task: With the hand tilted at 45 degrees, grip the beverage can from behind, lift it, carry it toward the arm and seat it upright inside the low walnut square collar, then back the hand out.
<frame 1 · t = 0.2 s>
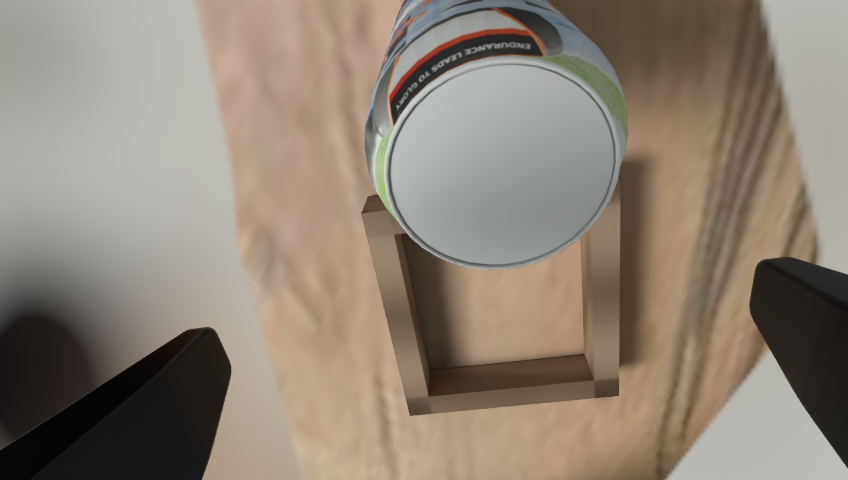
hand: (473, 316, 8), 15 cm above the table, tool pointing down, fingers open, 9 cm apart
walnut collar: (497, 289, 25), on the table
beverage can: (470, 64, 20), on the table
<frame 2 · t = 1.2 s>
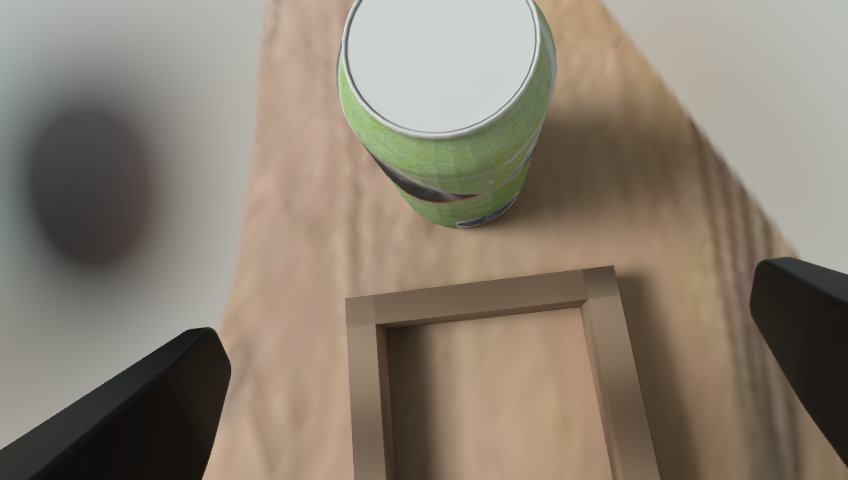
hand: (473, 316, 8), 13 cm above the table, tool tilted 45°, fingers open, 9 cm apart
walnut collar: (496, 434, 20), on the table
beverage can: (463, 188, 23), on the table
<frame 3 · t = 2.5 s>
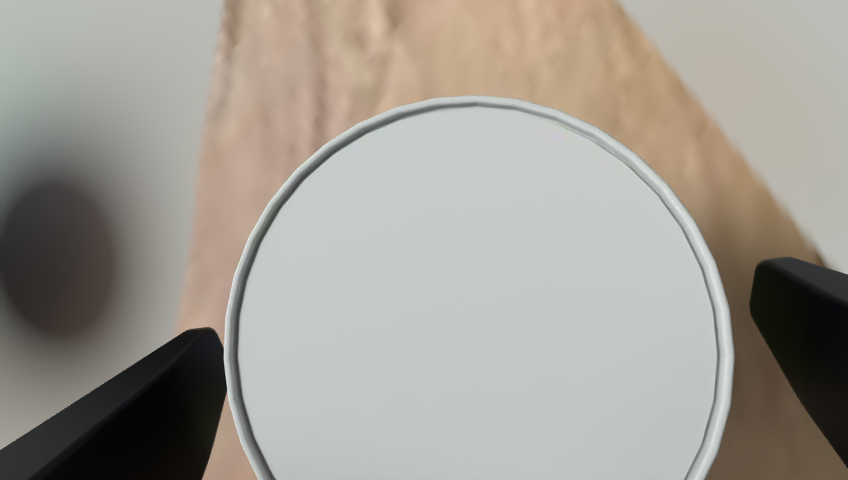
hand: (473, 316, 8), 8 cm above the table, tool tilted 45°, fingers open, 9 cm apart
beverage can: (482, 346, 16), on the table
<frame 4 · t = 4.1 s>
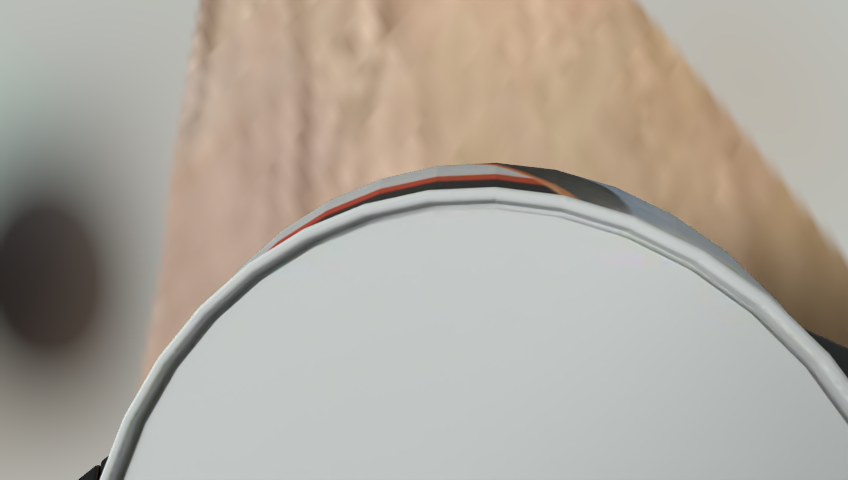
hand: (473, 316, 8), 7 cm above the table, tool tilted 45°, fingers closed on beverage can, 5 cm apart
beverage can: (487, 397, 14), on the table, touching gripper
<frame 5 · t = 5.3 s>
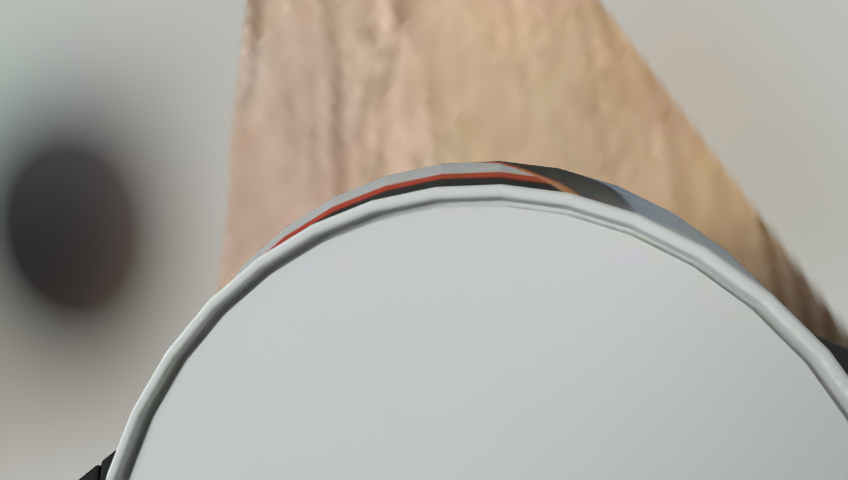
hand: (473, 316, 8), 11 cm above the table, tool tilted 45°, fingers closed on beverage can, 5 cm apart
beverage can: (483, 395, 14), point 4 cm above the table, touching gripper
when the fingers open (9 cm above the table, at t = 7.0 s): beverage can drops 3 cm, resting in walnut collar.
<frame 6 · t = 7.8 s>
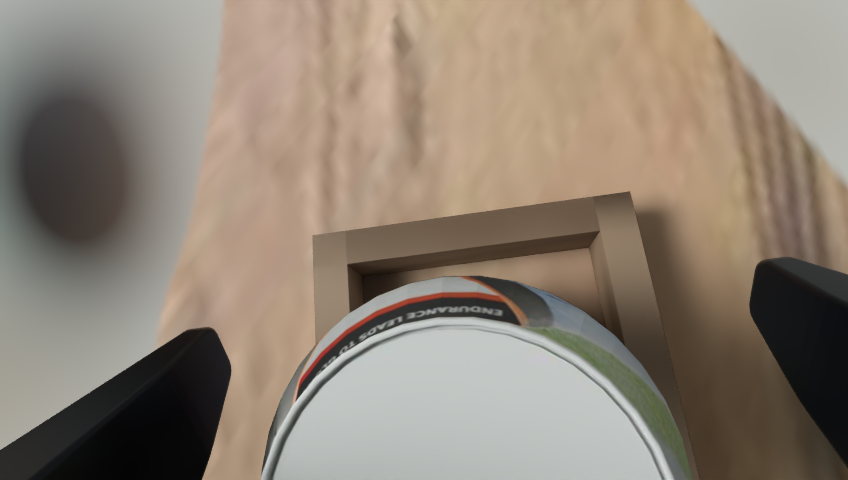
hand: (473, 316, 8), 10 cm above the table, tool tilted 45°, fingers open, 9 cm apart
walnut collar: (490, 395, 17), on the table
beverage can: (483, 403, 17), resting in walnut collar
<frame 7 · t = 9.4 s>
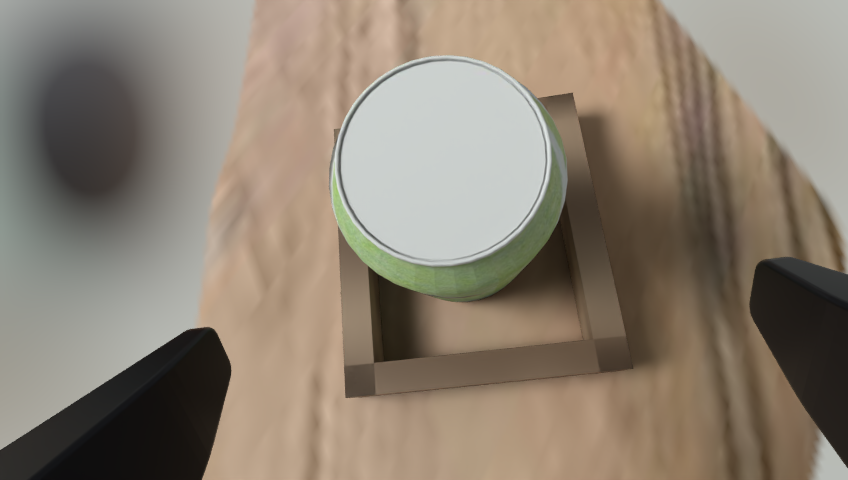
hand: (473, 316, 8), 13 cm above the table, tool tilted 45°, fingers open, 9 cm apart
walnut collar: (468, 248, 22), on the table
beverage can: (463, 256, 22), resting in walnut collar
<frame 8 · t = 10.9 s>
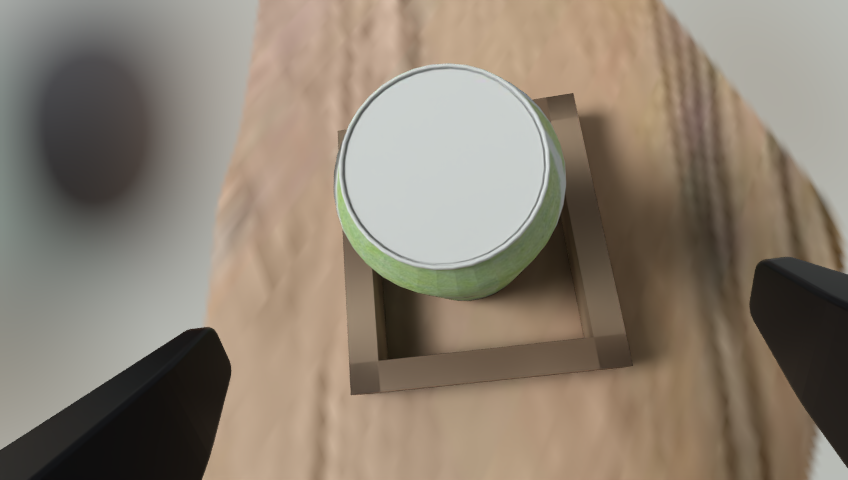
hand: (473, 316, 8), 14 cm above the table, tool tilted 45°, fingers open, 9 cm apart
walnut collar: (470, 247, 23), on the table
beverage can: (465, 255, 23), resting in walnut collar
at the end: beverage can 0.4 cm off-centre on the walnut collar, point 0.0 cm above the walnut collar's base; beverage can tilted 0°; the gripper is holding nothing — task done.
